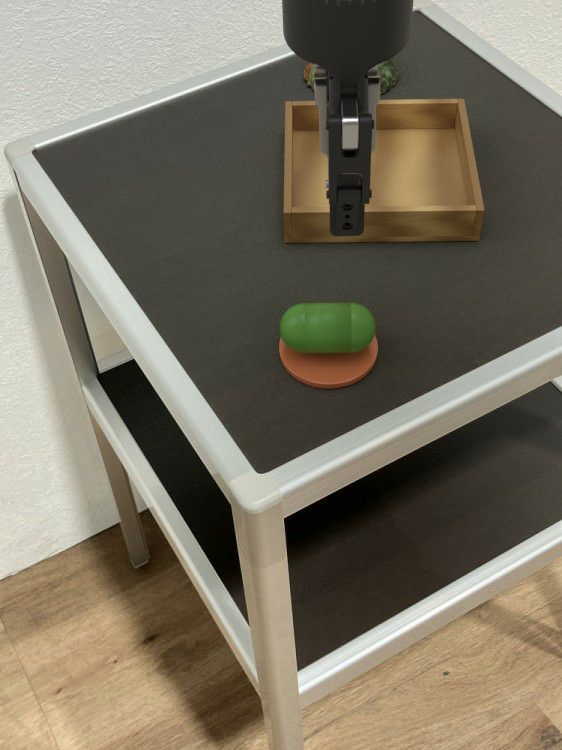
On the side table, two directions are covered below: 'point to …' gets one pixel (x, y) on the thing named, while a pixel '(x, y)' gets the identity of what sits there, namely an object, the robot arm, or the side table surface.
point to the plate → (329, 366)
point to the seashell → (385, 71)
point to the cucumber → (327, 328)
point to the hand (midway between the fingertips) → (344, 190)
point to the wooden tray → (390, 175)
